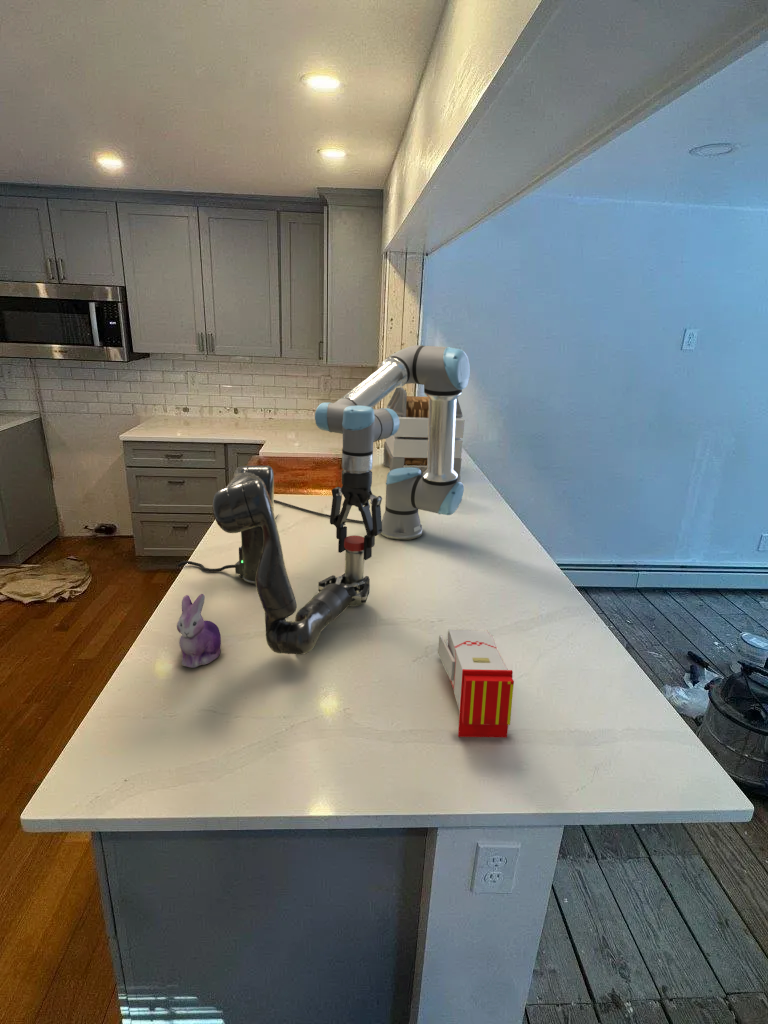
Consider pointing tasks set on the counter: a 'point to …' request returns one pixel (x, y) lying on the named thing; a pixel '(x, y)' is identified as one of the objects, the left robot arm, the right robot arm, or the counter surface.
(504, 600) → the counter surface
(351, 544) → the lid
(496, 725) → the toy
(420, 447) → the white wooden crate
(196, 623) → the figurine
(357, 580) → the jar
